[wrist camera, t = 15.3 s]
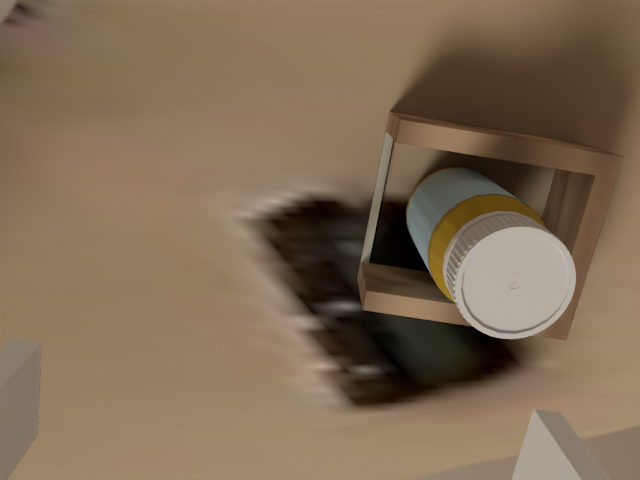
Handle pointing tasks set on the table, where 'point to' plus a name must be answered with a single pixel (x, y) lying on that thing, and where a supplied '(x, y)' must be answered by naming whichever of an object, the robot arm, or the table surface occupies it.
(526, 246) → the bottle
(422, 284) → the u rest
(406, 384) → the table surface
